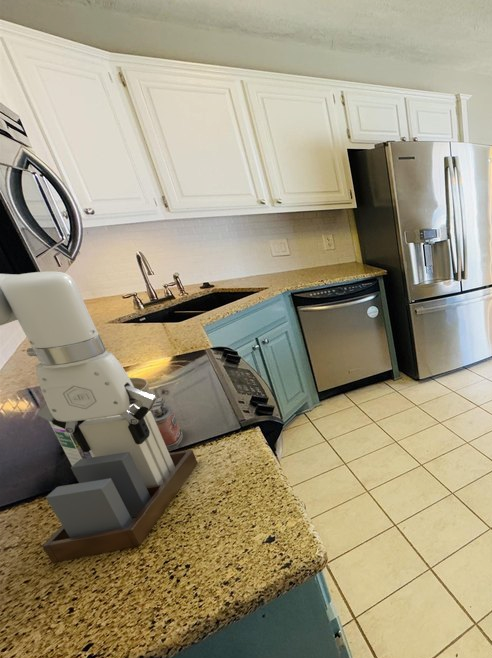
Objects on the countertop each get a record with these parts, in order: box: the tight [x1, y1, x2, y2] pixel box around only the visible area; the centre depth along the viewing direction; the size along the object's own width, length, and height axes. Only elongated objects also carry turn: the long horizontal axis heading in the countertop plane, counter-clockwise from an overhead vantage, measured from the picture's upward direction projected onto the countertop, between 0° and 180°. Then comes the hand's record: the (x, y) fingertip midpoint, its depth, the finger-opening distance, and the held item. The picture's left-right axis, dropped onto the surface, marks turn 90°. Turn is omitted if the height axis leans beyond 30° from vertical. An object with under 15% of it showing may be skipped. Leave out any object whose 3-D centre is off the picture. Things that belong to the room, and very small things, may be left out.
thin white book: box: [79, 416, 164, 487], centre depth 73 cm, size 7×2×15 cm, turn 106°
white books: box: [106, 410, 175, 481], centre depth 78 cm, size 7×4×15 cm, turn 106°
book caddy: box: [41, 449, 199, 564], centre depth 74 cm, size 12×23×4 cm, turn 16°
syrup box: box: [48, 417, 105, 467], centre depth 82 cm, size 6×6×14 cm
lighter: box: [152, 397, 184, 450], centre depth 93 cm, size 8×3×10 cm, turn 30°
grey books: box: [45, 452, 151, 538], centre depth 68 cm, size 7×9×12 cm
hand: (117, 443), depth 72 cm, fingers closed on thin white book, 7 cm apart
